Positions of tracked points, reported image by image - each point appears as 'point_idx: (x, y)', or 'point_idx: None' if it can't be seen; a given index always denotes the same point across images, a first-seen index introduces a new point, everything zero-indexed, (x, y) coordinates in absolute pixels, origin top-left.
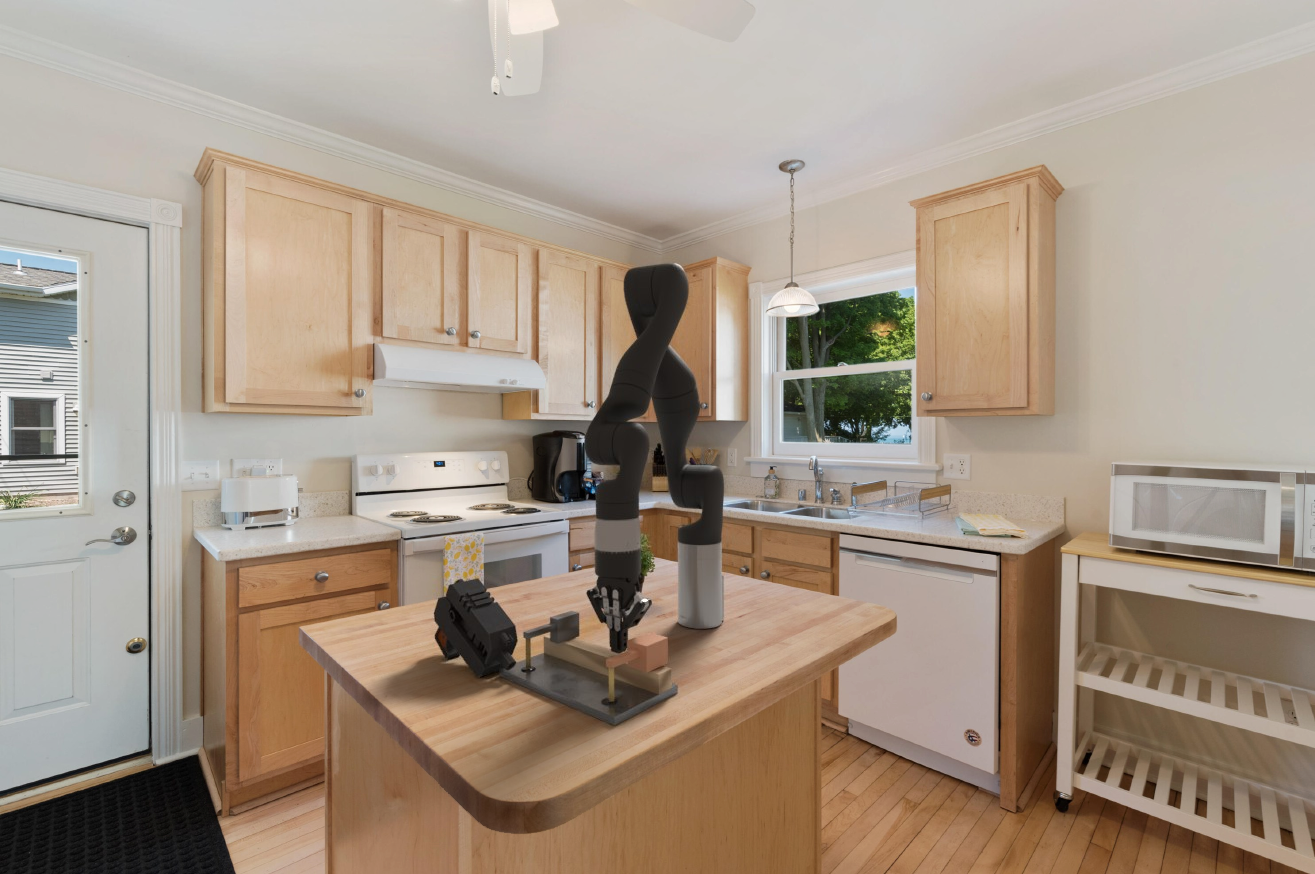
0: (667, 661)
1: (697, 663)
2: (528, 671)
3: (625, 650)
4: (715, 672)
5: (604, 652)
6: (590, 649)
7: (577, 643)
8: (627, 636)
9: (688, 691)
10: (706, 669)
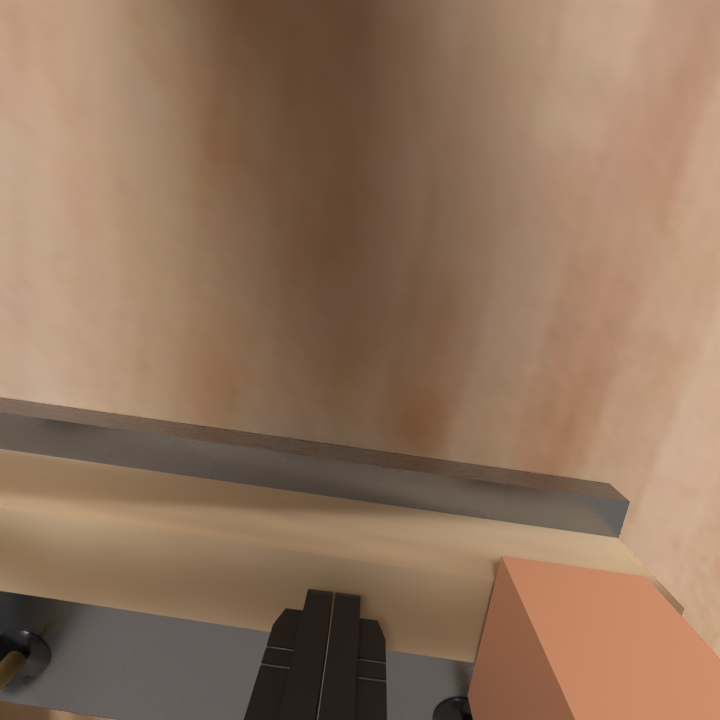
0: (650, 585)
1: (555, 144)
2: (43, 668)
3: (359, 595)
4: (688, 203)
5: (240, 593)
6: (150, 594)
7: (27, 558)
8: (385, 710)
9: (644, 452)
10: (630, 193)
